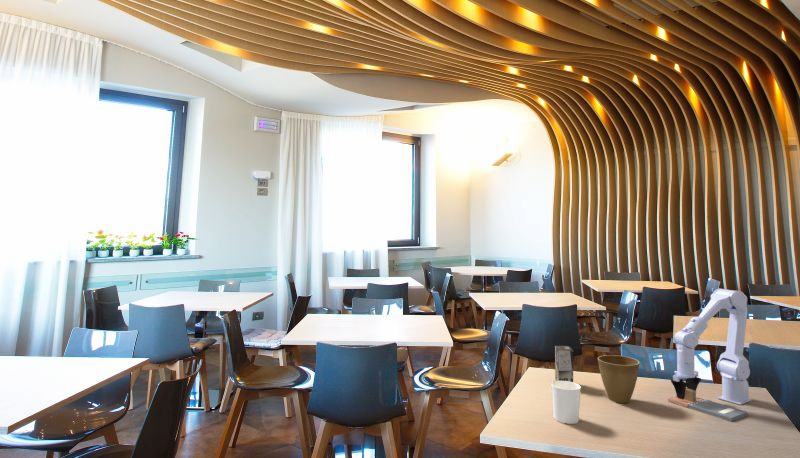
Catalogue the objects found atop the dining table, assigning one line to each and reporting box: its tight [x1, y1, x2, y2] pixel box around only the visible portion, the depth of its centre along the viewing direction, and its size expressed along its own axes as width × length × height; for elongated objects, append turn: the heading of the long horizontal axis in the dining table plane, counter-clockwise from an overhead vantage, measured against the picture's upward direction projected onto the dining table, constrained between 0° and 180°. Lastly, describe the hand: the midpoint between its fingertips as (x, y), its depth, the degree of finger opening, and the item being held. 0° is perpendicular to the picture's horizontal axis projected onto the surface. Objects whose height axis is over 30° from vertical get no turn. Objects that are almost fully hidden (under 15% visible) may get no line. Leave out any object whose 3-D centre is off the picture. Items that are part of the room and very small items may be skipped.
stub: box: [667, 387, 705, 408], centre depth 172 cm, size 12×7×5 cm, turn 119°
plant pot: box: [597, 354, 640, 404], centre depth 173 cm, size 15×15×16 cm
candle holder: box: [550, 381, 582, 425], centre depth 154 cm, size 10×10×12 cm
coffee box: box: [554, 345, 574, 383], centre depth 192 cm, size 9×6×16 cm
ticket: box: [688, 399, 748, 422], centre depth 162 cm, size 12×14×1 cm
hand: (686, 397), depth 172 cm, fingers open, 7 cm apart
